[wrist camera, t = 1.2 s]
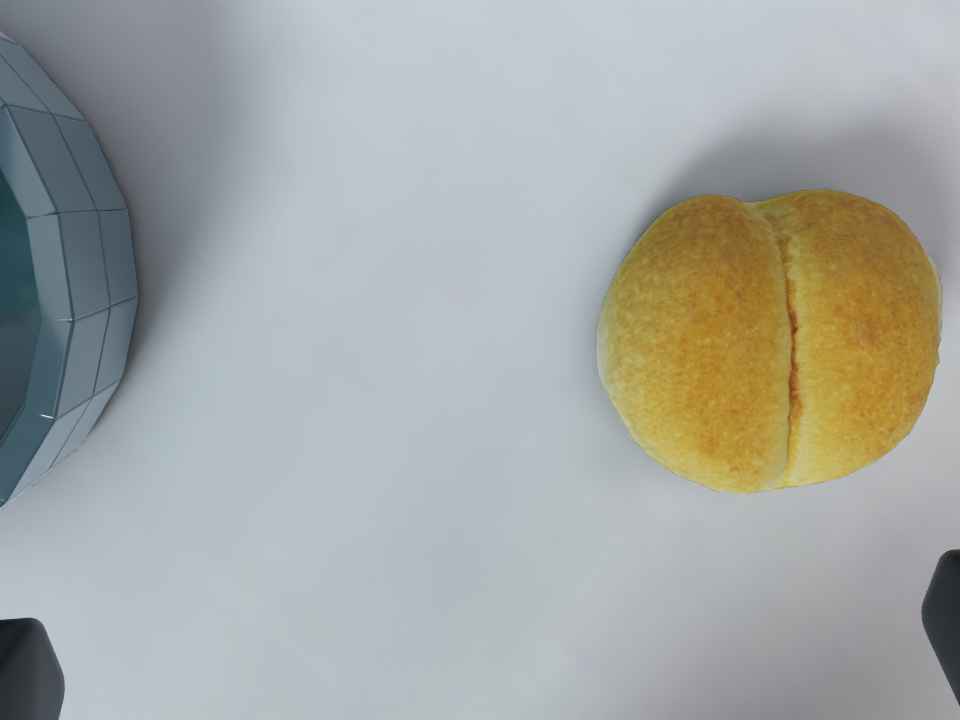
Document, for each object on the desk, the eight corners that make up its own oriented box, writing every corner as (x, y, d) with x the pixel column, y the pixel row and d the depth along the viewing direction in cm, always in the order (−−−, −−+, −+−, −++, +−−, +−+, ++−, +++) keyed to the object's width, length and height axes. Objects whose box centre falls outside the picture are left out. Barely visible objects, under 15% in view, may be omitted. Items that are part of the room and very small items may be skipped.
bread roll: (583, 202, 21) (621, 204, 18) (899, 184, 22) (1004, 182, 18) (591, 489, 23) (627, 549, 19) (884, 464, 24) (976, 517, 20)
